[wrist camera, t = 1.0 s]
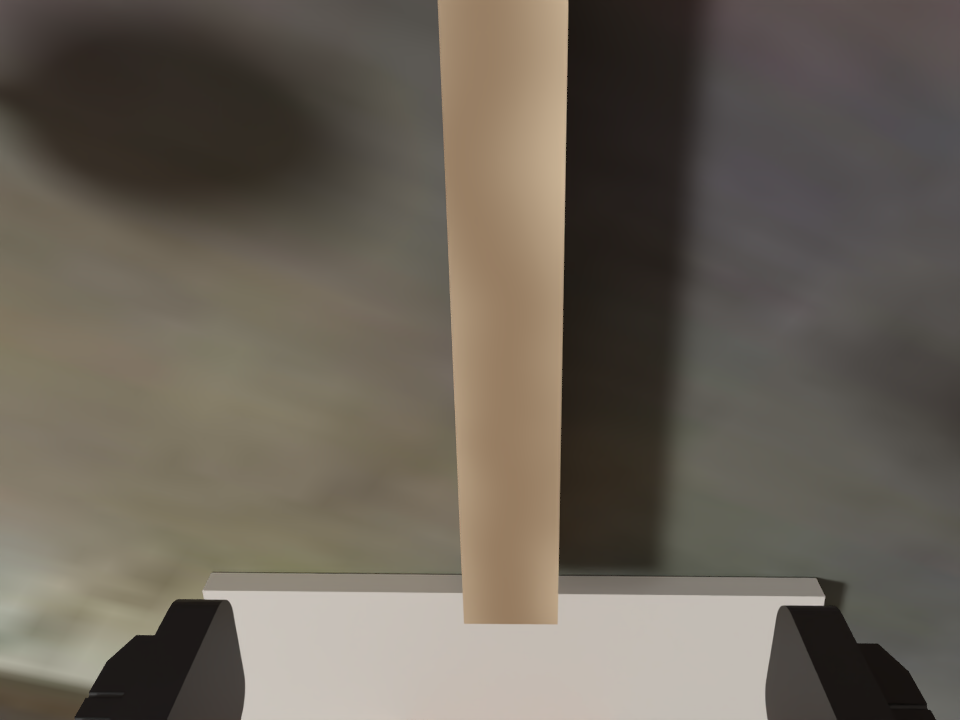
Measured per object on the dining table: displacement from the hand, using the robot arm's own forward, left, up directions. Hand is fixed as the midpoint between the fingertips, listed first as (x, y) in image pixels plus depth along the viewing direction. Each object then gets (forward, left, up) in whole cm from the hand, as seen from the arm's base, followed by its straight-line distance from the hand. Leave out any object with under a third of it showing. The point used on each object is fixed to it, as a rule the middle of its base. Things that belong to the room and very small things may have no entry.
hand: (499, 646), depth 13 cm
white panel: (0, +21, -15) cm, 26 cm away
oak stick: (0, 0, -16) cm, 16 cm away
